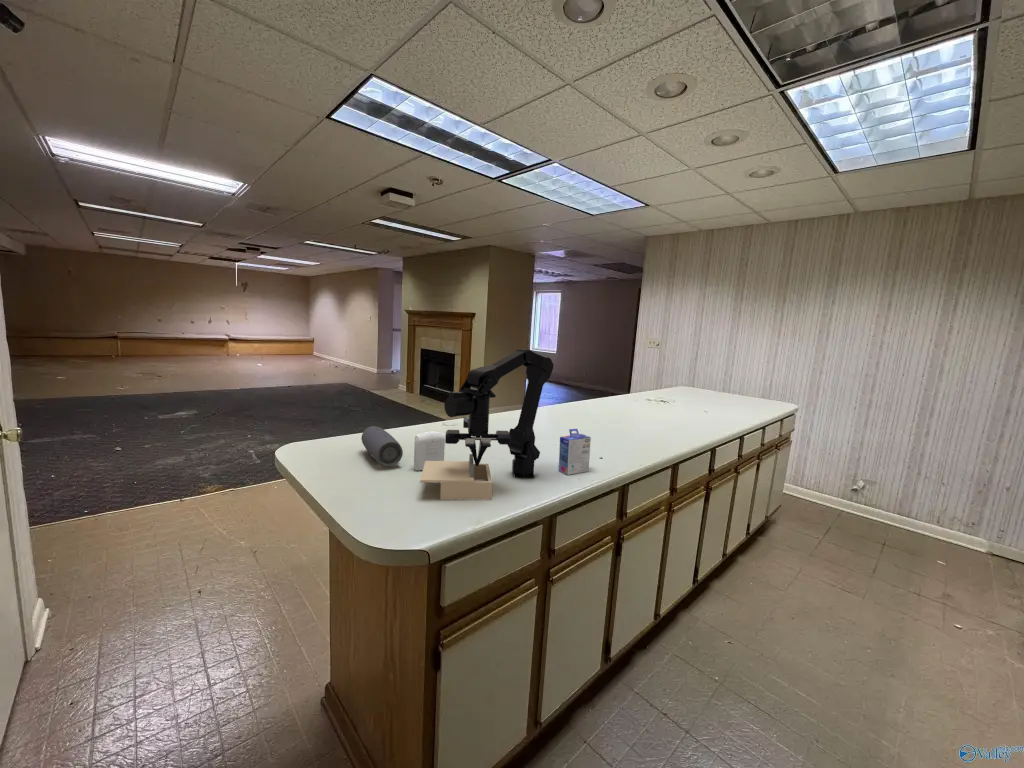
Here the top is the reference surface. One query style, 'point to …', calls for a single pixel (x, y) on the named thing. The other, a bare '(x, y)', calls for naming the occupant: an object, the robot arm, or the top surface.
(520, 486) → the top surface
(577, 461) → the ink cartridge box
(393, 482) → the top surface
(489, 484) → the mailer box
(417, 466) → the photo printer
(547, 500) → the top surface
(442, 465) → the lid
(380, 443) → the bluetooth speaker
